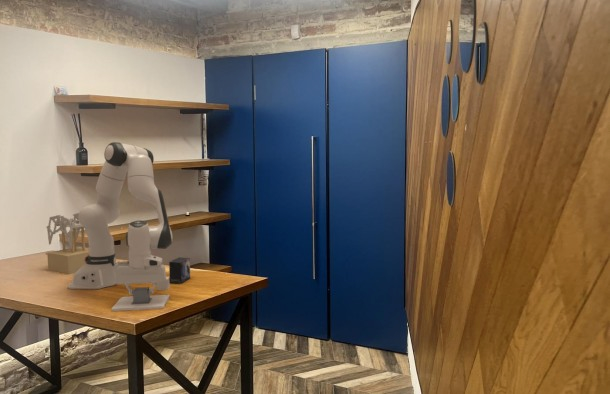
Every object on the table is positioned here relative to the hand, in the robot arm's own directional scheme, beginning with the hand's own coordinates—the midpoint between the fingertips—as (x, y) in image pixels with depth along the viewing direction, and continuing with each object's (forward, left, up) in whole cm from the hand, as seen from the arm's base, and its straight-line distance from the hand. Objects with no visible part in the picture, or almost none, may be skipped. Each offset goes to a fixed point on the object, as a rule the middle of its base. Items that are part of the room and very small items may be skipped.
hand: (141, 293), depth 203 cm
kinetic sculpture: (-50, +70, -4) cm, 86 cm away
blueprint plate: (0, 0, -4) cm, 4 cm away
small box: (+11, +35, -5) cm, 37 cm away
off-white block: (+5, +22, -4) cm, 23 cm away
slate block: (0, 0, -3) cm, 3 cm away
